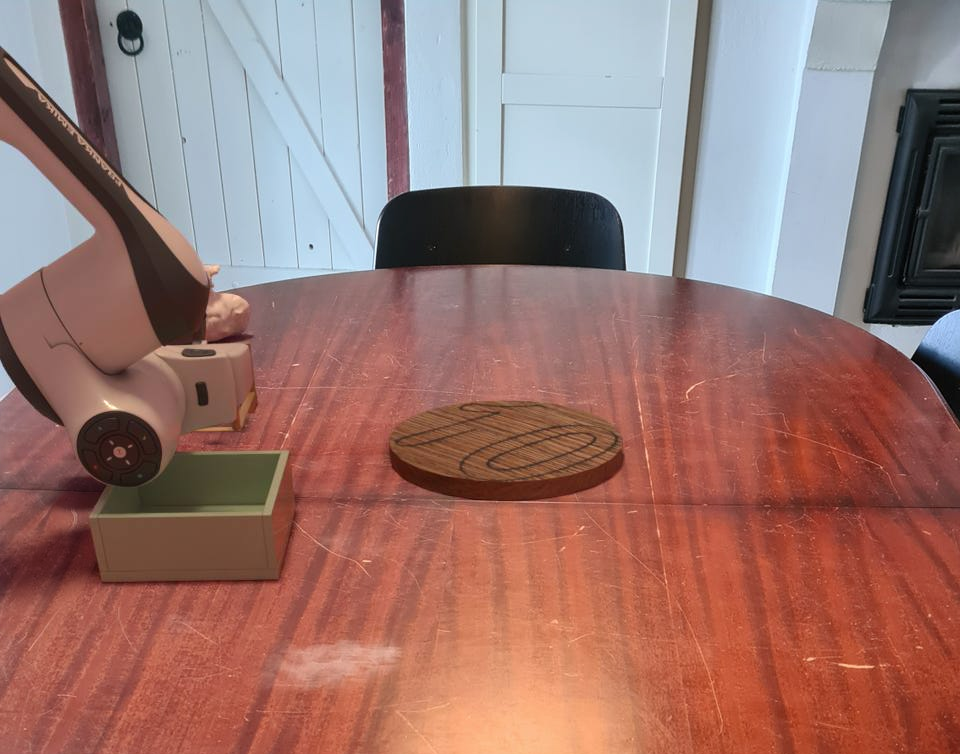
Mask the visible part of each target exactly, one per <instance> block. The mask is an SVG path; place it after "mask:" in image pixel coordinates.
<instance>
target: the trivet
mask: <svg viewBox="0 0 960 754" xmlns="http://www.w3.org/2000/svg"><path fill="white" fill-rule="evenodd" d="M623 441H624V437H623V435H622V433H621V432H620V431H619V429H618V428H617V426H616V425H614V424H613V423H611V422H610V421H608V420H607V419H606V418H603V417H601V416H599V415H596V414H594V413H592V412H588V411H586V410H583V409H578V408H575V407H571V406H566V405H562V404H557V403H548V402H541V401H532V400H506V399H505V400H503V399H502V400H484V401H483V400H481V401H472V402H465V403H464V402H463V403H457V404H450V405H445V406H442V407H437V408H433V409H430V410H425V411H423V412H420V413H419V414H416V415H413V416H411V417H408V418H407V419H405V420H404V421H403V422H401V423H400V424H399V425H397V426H396V427H394V428H393V430H392V432H391V434H390V435H389V438H388V449H389V461H390V464H391V468H392V469H393V470H394V471H395V472H396V473H397V474H398V475H399V476H400V477H401V478H402V479H404V480H406V481H408V482H410V483H412V484H413V485H416V486H418V487H420V488H423V489H426V490H429V491H433V492H437V493H440V494H444V495H448V496H454V497H460V498H466V499H473V500H474V499H475V500H491V501H493V500H494V501H521V500H537V499H538V500H539V499H540V500H541V499H546V498H551V497H558V496H563V495H571V494H573V493H576V492H579V491H582V490H585V489H589V488H592V487H595V486H597V485H598V484H600V483H602V482H604V481H606V480H607V479H609V478H612V476H614V474H615V473H616V472H617V471H618V470H619V468H620V467H621V466H622V465H621V464H622V455H623Z"/></svg>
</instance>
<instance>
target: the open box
mask: <svg viewBox="0 0 960 754" xmlns="http://www.w3.org/2000/svg"><path fill="white" fill-rule="evenodd" d="M292 469H293V468H292V461H291V451H290V450H289V449H287V450H279V449H278V450H224V451H223V450H208V451H175V453H174V455H173V457H172V459H171V461H170V462H169V464H168V465H167V467H166V468H165V469H164V471H163V472H162V473H161V474H160V475H159V476H158V477H157V478H156V479H154V480H153V481H151V482H149V483H147V484H145V485H142V486H138V487H133V488H120V487H113V486H109V485H106V487H105V488H104V490H103V492H102V493H101V495H100V497H99V498H98V500H97V502H96V504H95V505H94V506H93V509H92V510H91V512H90V514H89V516H88V523H89V528H90V532H91V538H92V541H93V547H94V552H95V556H96V561H97V566H98V571H99V575H100V581H101V583H133V582H134V583H137V582H139V583H140V582H196V581H197V582H199V581H200V582H203V581H207V582H208V581H254V580H255V581H261V580H262V581H267V580H270V581H271V580H273V581H274V580H279V578H280V574H281V570H282V566H283V563H284V559H285V554H286V551H287V547H288V542H289V539H290V535H291V530H292V526H293V523H294V520H295V519H294V518H295V514H296V512H297V511H296V510H297V509H296V502H295V501H296V498H295V490H294V489H295V488H294V480H293V471H292Z"/></svg>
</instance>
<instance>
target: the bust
mask: <svg viewBox="0 0 960 754" xmlns="http://www.w3.org/2000/svg"><path fill="white" fill-rule="evenodd" d="M200 260H201V261H202V264H203V266H204V268H205V271H206V273H207V275H208V278H209V280H210V294H209V300H208V305H207V309H206V314H207V317H206V335H205V340H207V342H208V343H210V342H217V341H220V340H222V339H225V338H228V337H231V336H235V335H240V334H243V333H245V332H246V331H247V329H248V326H249V323H250V316H251V310H250V304H249V303H248V301H247V300H246V299H244V298H243V297H242V296H240V295H237V294H233V293H227V292H221V293H218V292H216V291H214V290H213V289H214V288H215V284H214V282H213V278H212V277H213V276H215V275H218V274H219V271H220V270H221V267H220V265H219V264H214V265H210V264H207V265H205V264H204V261H203V259H200Z"/></svg>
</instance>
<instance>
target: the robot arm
mask: <svg viewBox="0 0 960 754" xmlns="http://www.w3.org/2000/svg"><path fill="white" fill-rule="evenodd" d="M0 141H1V142H3V143H6V144H8V145H9V146H11V147H13V148H14V149H16V150H17V151H19V152H20V153H21V154H22V155H23V156H24V157H26V159H27V160H28V161H29V162H30V163H31V164H32V165H33V166H34V167H35V168H36V169H37V170H38V171H39V172H40V173H41V174H42V175H43V176H44V177H45V178H46V179H47V180H48V182H50V184H51V185H52V186H53V187H55V189H56V190H57V191H58V192H59V193H60V194H61V195H62V196H63V197H64V199H66V200H67V201H68V202H69V203H70V204H71V205H72V206H73V208H75V210H76V211H77V212H78V213H79V214H80V215H81V216H82V217H83V218H84V219H85V220H86V221H87V222H88V223H89V224H90V225H91V226H92V227H93V228H94V229H95V231H94V234H92V236H90V237H89V238H88V239H86V240H85V241H83V242H81V243H80V244H78V245H77V246H75V247H74V248H72V249H71V250H69V251H68V252H66V253H64V254H63V255H61V256H60V257H58V258H57V259H55V260H54V261H52V262H50V263H49V264H48V265H46V266H42V267H40V268H39V269H38V270H36V271H34V272H33V273H31V274H30V275H28V276H27V277H25V278H23V279H21V281H19V282H17V283H16V284H15V285H13V286H12V287H11V288H8V290H6V291H5V292H3V293H2V294H0V363H1V365H2V367H3V369H4V371H5V372H6V375H8V378H9V379H10V380H11V382H12V384H13V385H14V386H15V388H16V389H17V390H18V392H19V393H20V394H21V395H22V396H23V398H25V400H26V401H27V402H28V403H29V404H30V405H31V406H32V407H33V408H34V409H35V410H36V411H37V412H38V413H39V414H40V415H41V416H43V417H45V418H46V419H48V420H49V421H51V422H53V423H54V424H57V425H58V426H60V427H63V428H65V430H66V433H67V435H68V439H69V442H70V447H71V449H72V452H73V454H74V456H75V459H76V460H77V462H78V463H79V465H80V466H81V467H82V469H83V470H84V471H85V472H86V473H87V474H88V475H89V476H90V477H91V478H93V479H95V480H96V481H98V482H99V483H101V484H104V485H106V486H107V485H109V486H113V487H120V488H133V487H138V486H142V485H145V484H147V483H149V482H151V481H153V480H154V479H156V478H157V477H158V476H159V475H160V474H161V473H162V472H163V471H164V469H165V468H166V467H167V465H168V464H169V462H170V461H171V459H172V457H173V455H174V453H175V452H177V448H178V445H179V442H180V439H181V436H184V435H187V434H188V433H193V432H192V431H195V430H198V429H204V428H208V427H220V426H222V425H229V424H231V423H232V422H234V421H235V420H236V415H237V407H241V406H242V405H241V404H242V403H243V402H244V401H245V400H246V399H247V397H248V395H249V393H250V390H251V387H252V383H253V372H254V371H253V372H252V363H253V361H252V362H251V354H252V353H251V354H250V349H249V346H248V345H246V344H242V342H233V343H209V342H207V340H203V341H193V343H192V345H173V346H169V344H171V343H173V342H175V341H178V340H180V339H182V338H184V337H186V336H188V335H190V334H192V333H194V332H196V331H198V330H199V328H200V326H201V323H202V321H203V318H204V315H205V312H206V309H207V305H208V300H209V294H210V280H209V278H208V275H207V273H206V271H205V268H204V266H203V265H204V263H203V264H202V261H201V260H202V259H201V258H200V256H199V254H198V252H197V251H196V249H195V248H194V247H193V245H192V244H191V242H190V241H189V239H188V238H186V236H185V235H184V234H183V233H182V232H181V231H180V230H179V229H178V228H176V227H175V225H174V224H173V223H171V222H170V221H169V220H168V219H167V218H166V217H165V216H164V215H163V214H162V213H161V212H160V211H159V210H158V209H157V208H155V206H154V205H152V203H150V202H149V201H148V200H147V199H146V198H145V197H144V196H143V195H142V194H141V193H140V192H139V191H138V190H137V189H136V188H135V187H134V186H133V185H132V184H131V183H130V182H129V181H128V180H127V179H126V177H125V176H123V174H122V173H121V171H119V170H118V169H117V168H116V167H115V165H113V164H112V162H111V161H110V160H109V159H108V158H107V157H106V156H105V155H104V153H102V151H100V149H99V148H98V146H96V144H95V143H93V141H92V140H91V139H90V138H89V137H88V136H87V135H86V134H85V133H84V132H83V130H81V128H80V127H79V126H78V125H77V124H76V123H75V122H74V120H72V118H71V117H70V116H69V115H68V114H67V113H66V112H65V110H63V109H62V107H60V105H59V104H58V103H57V102H56V101H55V100H54V99H53V98H52V97H51V96H50V95H49V94H48V92H46V91H45V89H44V88H43V87H42V86H41V85H40V84H39V83H38V82H37V81H36V80H35V79H34V77H32V75H30V74H29V72H28V71H27V70H26V69H25V68H24V67H23V66H22V65H21V64H20V63H19V62H18V61H17V60H16V59H15V58H14V57H13V56H12V55H11V54H10V53H9V52H7V50H6V49H5V48H3V47H2V46H1V45H0Z"/></svg>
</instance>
